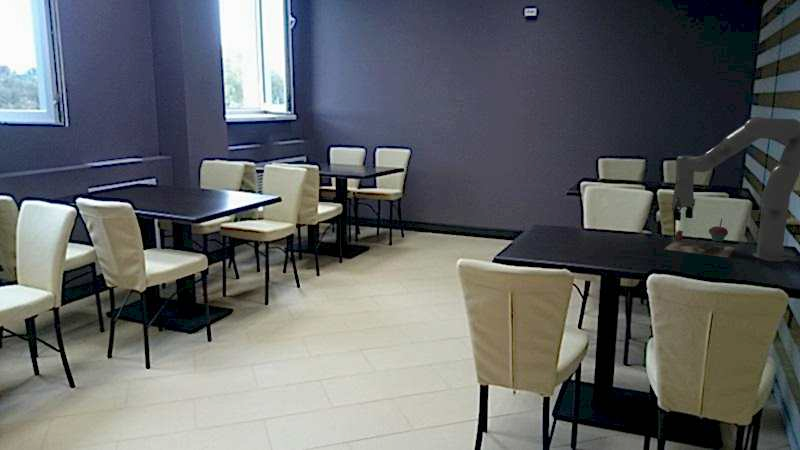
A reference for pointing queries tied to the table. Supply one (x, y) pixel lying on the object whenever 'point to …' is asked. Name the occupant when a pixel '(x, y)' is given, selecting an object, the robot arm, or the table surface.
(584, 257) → the table surface
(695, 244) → the lever
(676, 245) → the cracker base
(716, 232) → the cupcake
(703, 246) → the walnut
